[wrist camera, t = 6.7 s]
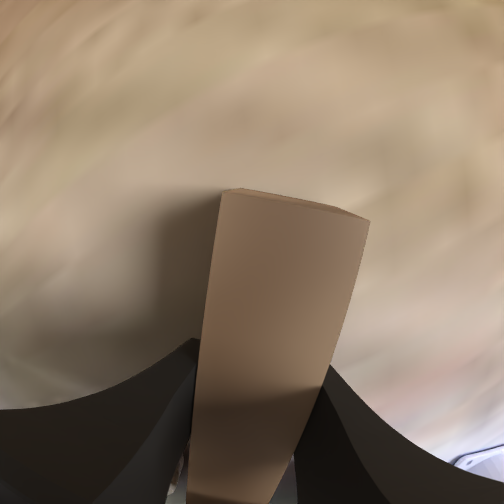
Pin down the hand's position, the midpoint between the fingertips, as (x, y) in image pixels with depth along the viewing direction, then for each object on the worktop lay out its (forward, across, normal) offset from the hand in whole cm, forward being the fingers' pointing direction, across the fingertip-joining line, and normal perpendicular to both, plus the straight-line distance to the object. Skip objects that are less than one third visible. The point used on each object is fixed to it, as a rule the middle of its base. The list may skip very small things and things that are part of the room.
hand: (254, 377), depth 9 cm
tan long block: (+2, 0, +3) cm, 3 cm away
